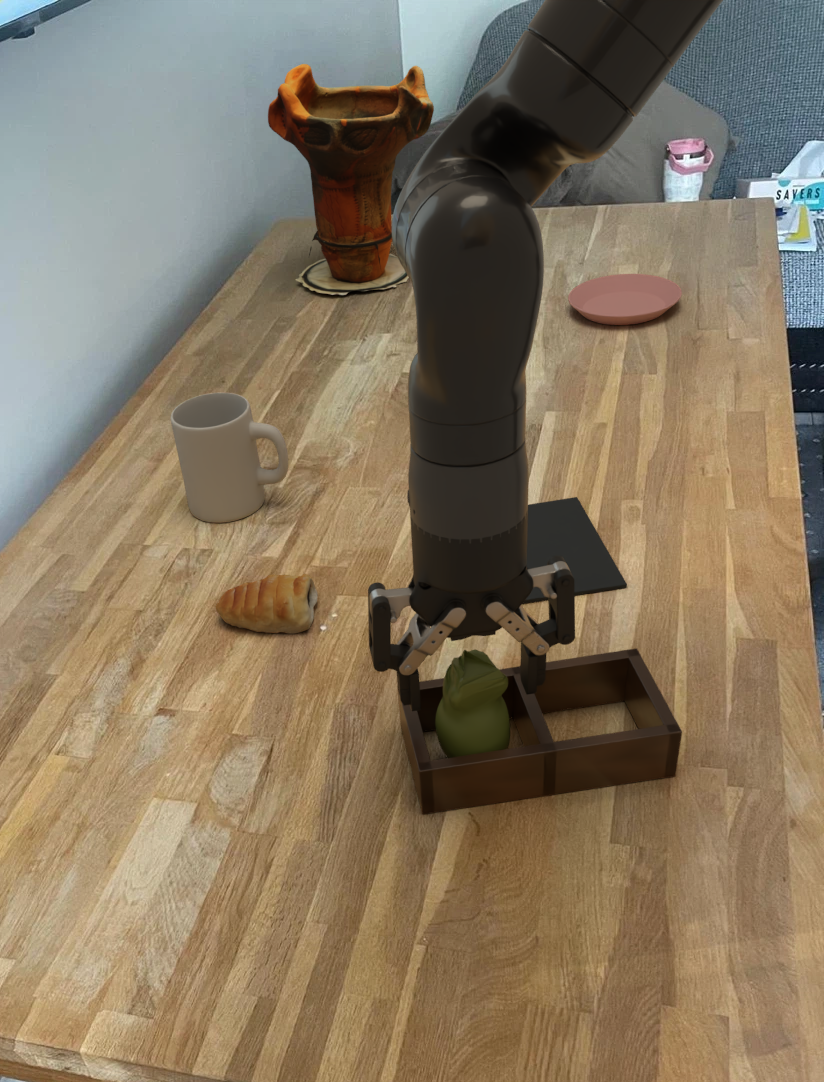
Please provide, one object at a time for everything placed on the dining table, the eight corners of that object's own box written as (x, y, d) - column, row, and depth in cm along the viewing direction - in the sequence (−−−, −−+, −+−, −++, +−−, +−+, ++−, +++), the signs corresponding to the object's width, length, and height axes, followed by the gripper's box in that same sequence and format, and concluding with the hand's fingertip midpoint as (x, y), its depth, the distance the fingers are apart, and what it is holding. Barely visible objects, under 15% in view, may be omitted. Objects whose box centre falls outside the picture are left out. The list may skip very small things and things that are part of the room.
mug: (178, 522, 118) (157, 429, 111) (203, 482, 124) (185, 391, 117) (284, 526, 115) (269, 430, 108) (304, 484, 121) (292, 391, 114)
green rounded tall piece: (490, 727, 88) (489, 627, 81) (523, 768, 84) (525, 667, 77) (427, 750, 87) (420, 650, 80) (457, 792, 83) (453, 691, 76)
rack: (632, 691, 89) (637, 647, 86) (676, 776, 81) (682, 731, 78) (400, 727, 89) (397, 684, 86) (422, 814, 81) (419, 771, 78)
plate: (544, 312, 147) (545, 298, 146) (621, 280, 152) (622, 265, 151) (625, 340, 137) (626, 325, 136) (704, 304, 142) (706, 289, 141)
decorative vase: (444, 290, 158) (437, 70, 139) (286, 309, 160) (259, 96, 142) (433, 242, 173) (426, 39, 155) (289, 260, 176) (265, 62, 157)
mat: (576, 500, 111) (577, 496, 111) (626, 587, 99) (627, 584, 99) (421, 524, 112) (420, 521, 111) (451, 614, 99) (451, 611, 99)
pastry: (214, 639, 101) (206, 605, 99) (225, 597, 106) (218, 564, 104) (314, 635, 100) (309, 600, 97) (320, 592, 105) (315, 559, 102)
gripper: (366, 551, 67) (383, 743, 78) (595, 516, 67) (581, 714, 78) (351, 491, 73) (369, 678, 84) (562, 459, 73) (553, 651, 83)
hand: (471, 695), depth 81 cm, fingers open, 8 cm apart
